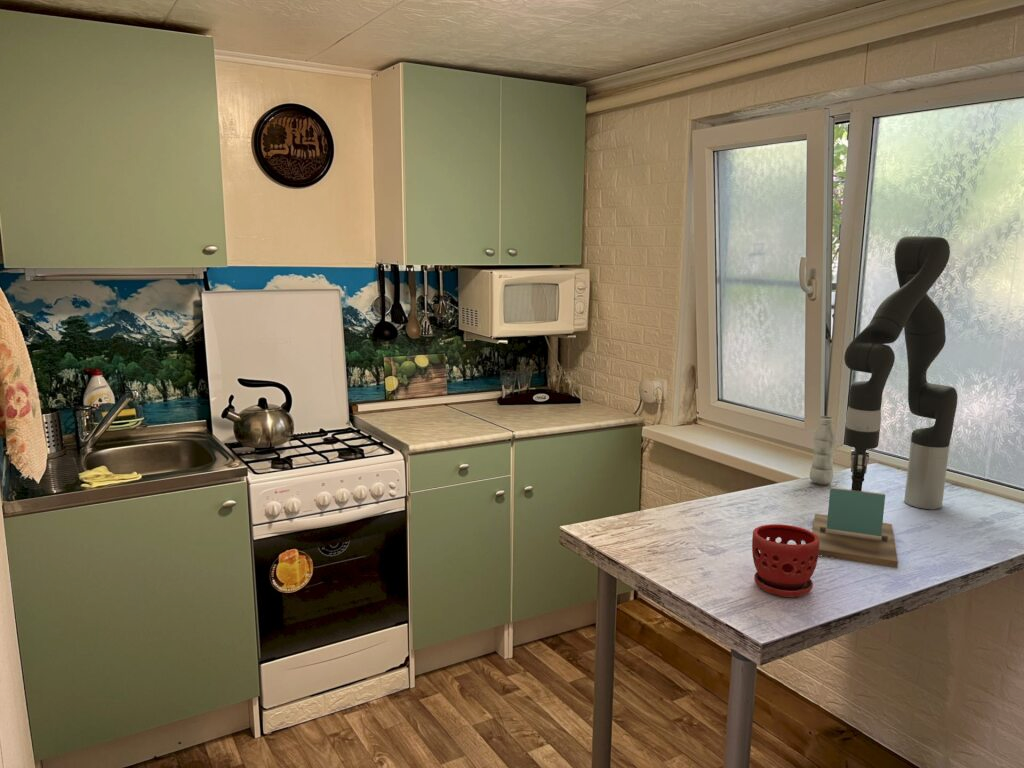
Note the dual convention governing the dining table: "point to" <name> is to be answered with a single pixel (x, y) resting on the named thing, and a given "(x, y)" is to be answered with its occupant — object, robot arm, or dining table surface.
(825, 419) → the plastic bottle
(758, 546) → the plant pot
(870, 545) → the board
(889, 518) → the dining table surface
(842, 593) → the dining table surface
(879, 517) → the tile
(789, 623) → the dining table surface
